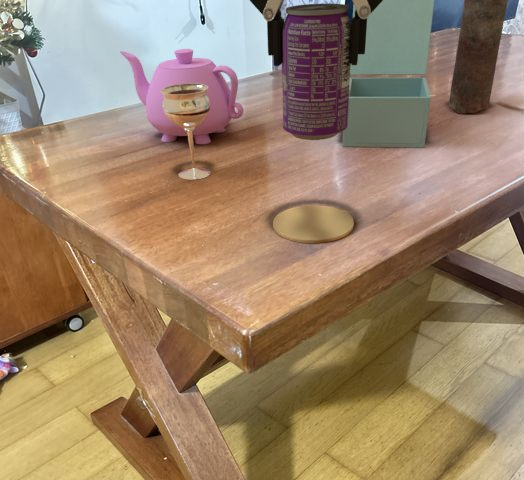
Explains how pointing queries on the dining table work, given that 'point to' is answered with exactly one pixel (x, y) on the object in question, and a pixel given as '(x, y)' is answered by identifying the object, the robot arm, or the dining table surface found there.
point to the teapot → (183, 73)
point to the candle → (477, 54)
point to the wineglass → (187, 116)
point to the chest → (387, 112)
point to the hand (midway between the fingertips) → (316, 61)
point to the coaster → (313, 224)
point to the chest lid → (396, 39)
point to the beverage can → (316, 70)
